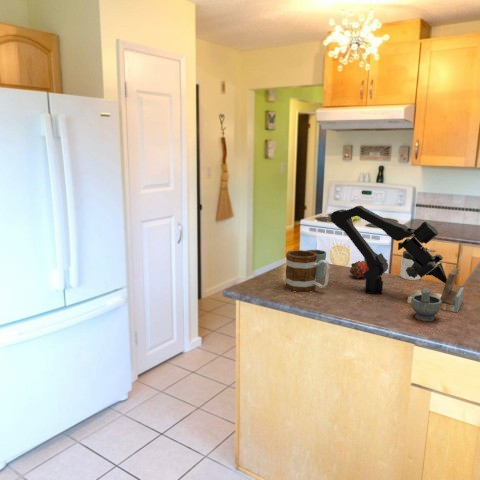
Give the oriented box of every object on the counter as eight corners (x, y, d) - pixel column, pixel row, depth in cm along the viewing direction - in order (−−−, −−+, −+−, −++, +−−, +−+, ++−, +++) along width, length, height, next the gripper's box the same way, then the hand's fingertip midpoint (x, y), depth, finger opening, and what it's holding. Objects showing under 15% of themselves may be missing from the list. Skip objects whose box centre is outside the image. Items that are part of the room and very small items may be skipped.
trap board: (407, 302, 166) (407, 297, 166) (414, 294, 176) (415, 289, 176) (454, 311, 157) (454, 306, 157) (459, 302, 167) (459, 297, 167)
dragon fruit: (353, 283, 196) (361, 281, 206) (369, 275, 192) (377, 272, 202) (344, 267, 198) (352, 265, 208) (360, 258, 194) (367, 256, 204)
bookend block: (439, 300, 161) (449, 273, 157) (444, 293, 169) (453, 267, 165) (454, 305, 158) (463, 277, 155) (458, 297, 166) (467, 271, 163)
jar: (412, 281, 194) (414, 255, 192) (396, 277, 201) (398, 251, 198) (424, 278, 199) (426, 252, 197) (408, 274, 206) (410, 249, 203)
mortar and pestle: (413, 311, 158) (415, 279, 155) (441, 315, 153) (444, 283, 151) (407, 321, 148) (410, 287, 146) (437, 326, 144) (440, 292, 141)
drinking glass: (328, 276, 202) (329, 251, 199) (320, 281, 193) (321, 255, 191) (308, 272, 207) (309, 248, 205) (299, 278, 199) (300, 252, 196)
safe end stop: (454, 311, 157) (455, 296, 156) (459, 302, 167) (461, 287, 166) (457, 312, 156) (458, 296, 155) (462, 302, 167) (464, 287, 166)
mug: (278, 288, 183) (279, 254, 180) (295, 281, 193) (296, 248, 190) (320, 298, 171) (321, 261, 168) (335, 290, 181) (337, 255, 178)
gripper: (407, 259, 179) (434, 288, 175) (395, 269, 164) (424, 301, 160) (428, 242, 173) (457, 272, 169) (417, 250, 158) (449, 283, 154)
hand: (446, 282), depth 163 cm, fingers closed, pressing on bookend block
